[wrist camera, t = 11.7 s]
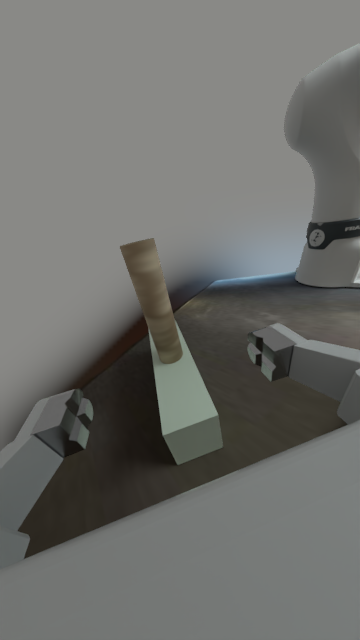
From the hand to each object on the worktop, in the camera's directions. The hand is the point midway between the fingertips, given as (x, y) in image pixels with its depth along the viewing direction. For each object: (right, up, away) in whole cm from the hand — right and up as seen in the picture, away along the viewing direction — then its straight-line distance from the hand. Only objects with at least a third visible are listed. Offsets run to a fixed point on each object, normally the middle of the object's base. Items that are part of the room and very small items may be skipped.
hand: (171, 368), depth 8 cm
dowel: (-1, -2, +14) cm, 15 cm away
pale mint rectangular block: (+1, -8, +17) cm, 19 cm away
